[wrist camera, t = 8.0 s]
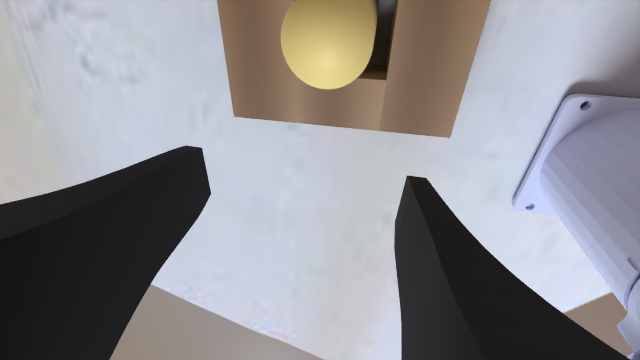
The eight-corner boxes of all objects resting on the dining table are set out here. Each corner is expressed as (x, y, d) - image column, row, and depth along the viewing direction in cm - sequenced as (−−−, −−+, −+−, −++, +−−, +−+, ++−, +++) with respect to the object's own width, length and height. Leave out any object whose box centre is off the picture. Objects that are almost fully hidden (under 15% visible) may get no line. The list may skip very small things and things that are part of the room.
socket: (502, -110, 12) (530, -131, 10) (440, 115, 18) (449, 137, 16) (230, -109, 14) (198, -126, 12) (252, 99, 20) (234, 116, 17)
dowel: (383, -16, 15) (382, -8, 9) (372, 48, 17) (365, 94, 10) (324, -21, 15) (280, -19, 9) (320, 42, 17) (280, 83, 11)
